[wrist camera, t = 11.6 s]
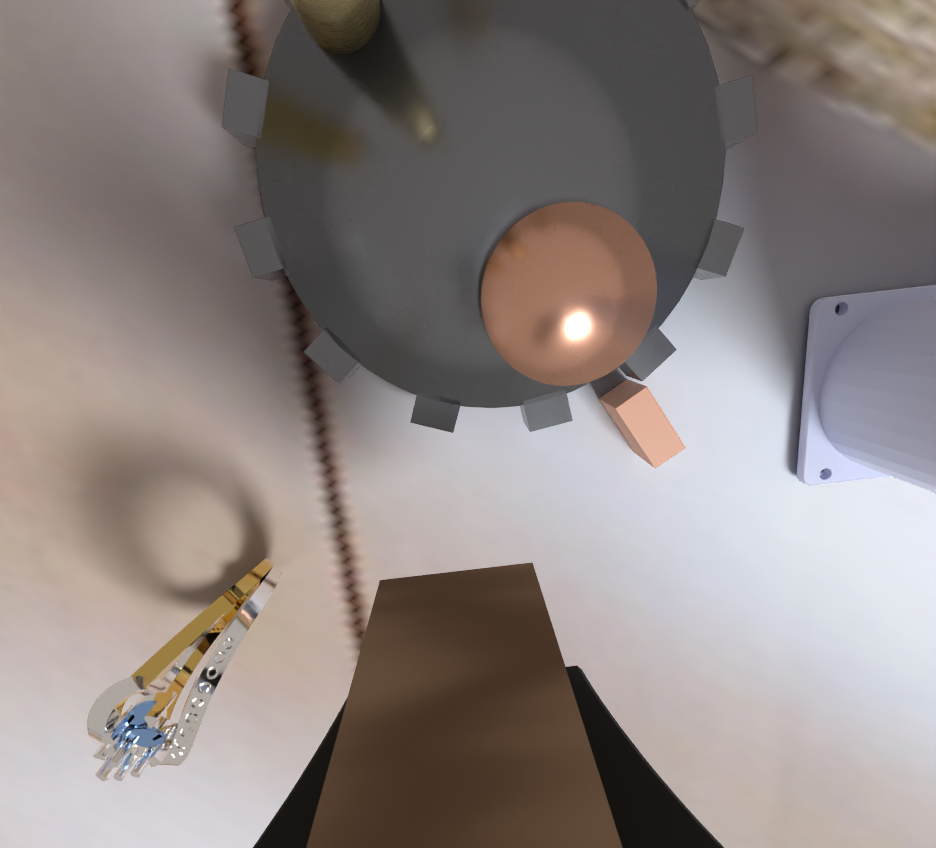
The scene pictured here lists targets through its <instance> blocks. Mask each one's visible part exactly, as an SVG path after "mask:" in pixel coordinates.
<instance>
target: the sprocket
mask: <svg viewBox="0 0 936 848" xmlns="http://www.w3.org/2000/svg"><path fill="white" fill-rule="evenodd" d="M699 1H700V0H285V2H286V4H287V5H288V6H289V7H290V8H291V10H290V12H289V14H288V16H287V18H286V20H285V23H284V25H283V27H282V29H281V31H280V33H279V35H278V37H277V39H276V42H275V45H274V48H273V51H272V54H271V58H270V61H269V64H268V67H267V70H266V73H265V78H264V79H261V78H258V77H255V76H252V75H248V74H245V73H242V72H239V71H236V70H232V69H229V70H228V78H227V87H226V95H225V104H224V113H223V121H222V127H223V128H224V129H225V130H226V131H228V132H229V133H230V134H231V135H233V136H234V137H235V138H236V139H238V140H239V141H240V142H241V143H242V144H244V145H246V146H249V147H253V148H256V154H257V174H258V183H259V189H260V195H261V201H262V207H263V212H264V216H265V218H263V219H260V220H256V221H253V222H249V223H246V224H243V225H239V226H236V227H234V228H235V230H236V233H237V236H238V238H239V241H240V244H241V246H242V249H243V252H244V254H245V257H246V260H247V262H248V265H249V268H250V270H251V273H252V276H253V277H255V278H260V279H266V280H275V279H278V278H282V277H285V276H287V277H288V279H289V281H290V283H291V284H292V286H293V288H294V290H295V291H296V293H297V295H298V297H299V298H300V300H301V302H302V303H303V304H304V306H305V307H306V308H307V310H308V311H309V312H310V314H311V315H312V316H313V318H314V319H315V320H316V322H317V323H318V324H319V326H320V327H321V328H322V329H323V331H322V332H321V333H320V334H319V335H318V337H317V338H316V339H315V340H314V341H313V342H312V343H311V344H310V345H309V346H308V348H307V349H306V350H305V351H304V353H305V354H306V355H308V356H309V357H310V358H311V359H312V360H313V361H314V362H315V363H316V364H317V365H319V366H320V367H321V368H322V369H323V370H324V371H325V372H326V373H327V374H328V375H330V376H331V377H332V378H333V379H334V380H335V381H336V382H337V383H338V384H340V383H341V382H343V381H345V380H346V379H348V378H349V377H350V376H351V375H352V374H353V373H354V372H355V371H356V370H357V369H358V368H359V366H360V365H362V366H363V367H365V368H367V369H368V370H370V371H371V372H373V373H375V374H376V375H378V376H379V377H381V378H382V379H384V380H386V381H387V382H389V383H392V384H394V385H396V386H398V387H400V388H402V389H404V390H407V391H409V392H411V393H413V394H416V395H417V397H416V401H415V405H414V409H413V413H412V418H411V423H415V424H419V425H423V426H427V427H432V428H436V429H440V430H444V431H448V432H452V433H453V431H454V427H455V423H456V419H457V416H458V412H459V408H460V406H466V407H484V408H497V407H511V406H520V408H521V412H522V416H523V420H524V423H525V424H526V426H527V427H528V429H529V431H530V432H532V431H535V430H539V429H543V428H546V427H550V426H554V425H557V424H561V423H565V422H569V421H572V416H571V412H570V407H569V402H568V398H567V393H569V392H572V391H574V390H576V389H578V388H580V387H582V386H584V385H586V384H588V383H590V382H592V381H594V380H597V379H599V378H601V377H603V376H605V375H607V374H609V373H610V372H612V371H613V370H615V369H616V368H618V367H619V368H620V369H621V370H622V371H623V372H624V374H625V375H626V376H629V377H632V378H634V379H637V380H640V381H643V380H644V379H645V378H646V377H648V376H649V375H650V374H651V373H652V372H653V371H654V370H655V369H656V368H657V367H658V366H659V365H660V364H662V363H663V362H664V361H665V360H666V359H667V358H668V357H669V356H670V355H671V354H672V353H673V352H675V351H676V350H677V349H676V348H675V347H674V346H673V345H672V344H671V342H670V341H669V340H668V339H667V338H666V337H665V336H664V334H663V333H662V332H661V331H660V330H659V329H658V328H659V327H660V326H661V325H662V323H663V322H664V321H665V319H666V318H667V317H668V315H669V314H670V313H671V311H672V310H673V309H674V307H675V306H676V305H677V303H678V302H679V301H680V299H681V297H682V295H683V294H684V292H685V290H686V289H687V287H688V285H689V283H690V282H691V280H692V278H693V277H694V278H697V279H700V280H704V279H711V278H719V277H726V274H727V272H728V269H729V266H730V264H731V261H732V258H733V256H734V253H735V251H736V248H737V245H738V243H739V240H740V238H741V235H742V232H743V230H744V228H742V227H739V226H736V225H733V224H729V223H726V222H723V221H720V220H716V216H717V212H718V206H719V201H720V195H721V190H722V184H723V176H724V161H725V150H727V149H729V148H731V147H733V146H734V145H736V144H738V143H739V142H741V141H743V140H744V139H746V138H748V137H749V136H751V135H753V134H754V133H756V132H757V121H756V110H755V99H754V89H753V78H752V75H751V76H748V77H745V78H741V79H738V80H734V81H731V82H728V83H724V84H721V85H719V82H718V77H717V74H716V71H715V67H714V64H713V61H712V57H711V54H710V51H709V47H708V44H707V42H706V40H705V38H704V35H703V33H702V31H701V29H700V26H699V24H698V22H697V20H696V17H695V15H694V13H693V11H692V10H693V8H694V7H695V6H696V5H697V3H698V2H699Z"/></svg>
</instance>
